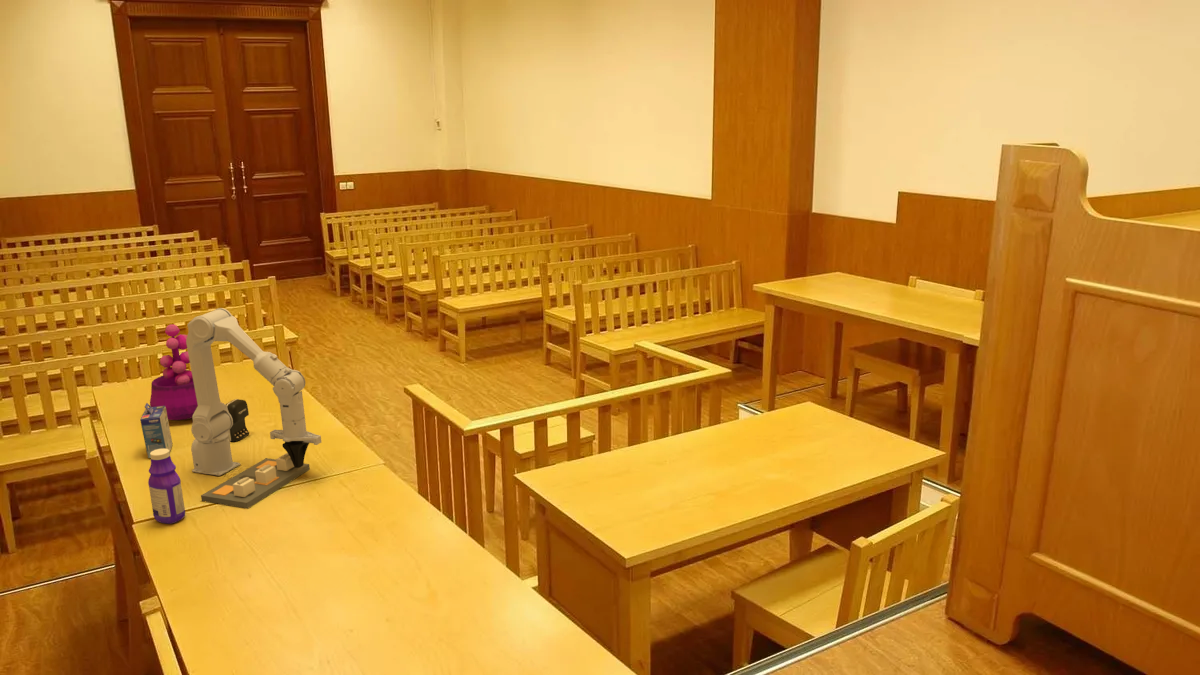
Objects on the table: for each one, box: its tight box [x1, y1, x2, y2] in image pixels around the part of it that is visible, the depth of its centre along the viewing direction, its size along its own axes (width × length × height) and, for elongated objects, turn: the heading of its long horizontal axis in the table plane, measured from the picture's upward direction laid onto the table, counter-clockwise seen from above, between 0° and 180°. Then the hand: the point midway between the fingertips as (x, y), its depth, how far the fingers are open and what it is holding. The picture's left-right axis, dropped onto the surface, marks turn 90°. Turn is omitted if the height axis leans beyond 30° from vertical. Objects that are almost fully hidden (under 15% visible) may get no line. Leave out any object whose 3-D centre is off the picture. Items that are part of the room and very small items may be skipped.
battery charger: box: [225, 398, 250, 442], centre depth 253 cm, size 7×4×11 cm, turn 167°
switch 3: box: [275, 452, 294, 471], centre depth 229 cm, size 3×4×4 cm
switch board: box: [200, 457, 311, 509], centre depth 223 cm, size 14×24×2 cm, turn 161°
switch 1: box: [233, 477, 255, 497], centre depth 214 cm, size 3×4×4 cm
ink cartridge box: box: [139, 402, 173, 459], centre depth 244 cm, size 10×6×14 cm, turn 18°
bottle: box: [147, 449, 186, 525], centre depth 203 cm, size 7×6×17 cm
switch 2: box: [255, 464, 276, 484], centre depth 222 cm, size 3×4×4 cm
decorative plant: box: [149, 324, 198, 421], centre depth 269 cm, size 19×19×30 cm
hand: (298, 466), depth 228 cm, fingers closed
